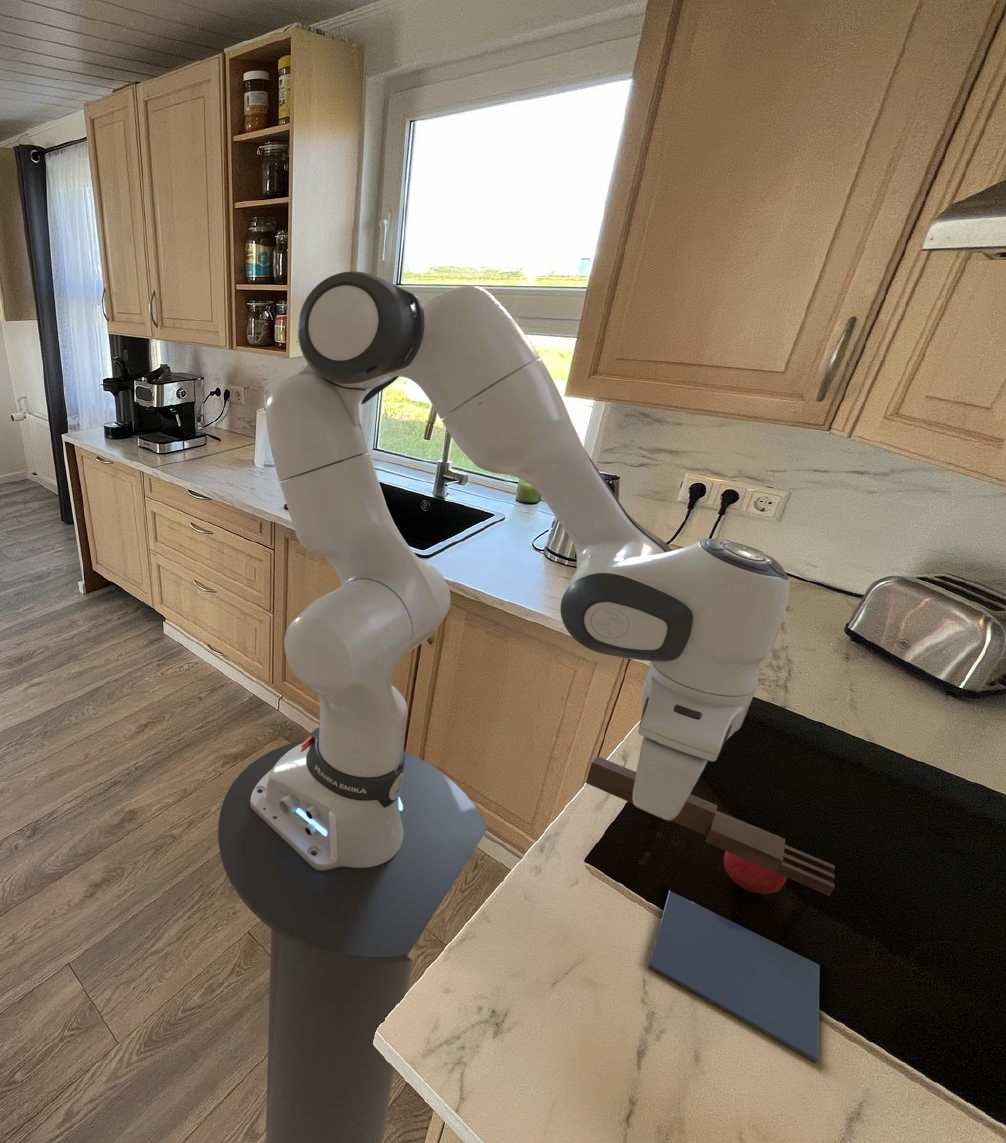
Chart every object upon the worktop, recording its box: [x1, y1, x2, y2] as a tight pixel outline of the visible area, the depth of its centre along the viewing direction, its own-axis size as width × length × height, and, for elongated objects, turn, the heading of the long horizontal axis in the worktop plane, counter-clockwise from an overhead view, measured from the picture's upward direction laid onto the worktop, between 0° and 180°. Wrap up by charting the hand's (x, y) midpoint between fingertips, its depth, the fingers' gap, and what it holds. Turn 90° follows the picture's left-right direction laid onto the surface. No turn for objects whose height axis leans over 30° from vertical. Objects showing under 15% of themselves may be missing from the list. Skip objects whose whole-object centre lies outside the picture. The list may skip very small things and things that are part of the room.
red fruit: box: [723, 850, 788, 895], centre depth 74 cm, size 6×6×8 cm
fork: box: [585, 755, 835, 897], centre depth 67 cm, size 22×4×3 cm, turn 49°
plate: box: [648, 890, 821, 1063], centre depth 67 cm, size 14×12×1 cm
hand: (657, 796), depth 69 cm, fingers closed on fork
